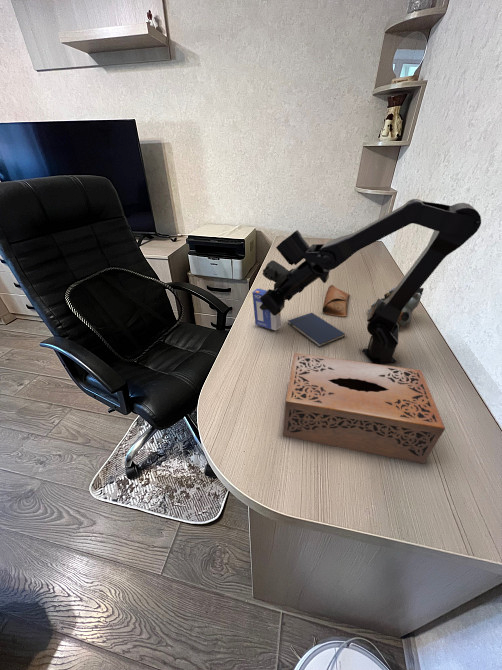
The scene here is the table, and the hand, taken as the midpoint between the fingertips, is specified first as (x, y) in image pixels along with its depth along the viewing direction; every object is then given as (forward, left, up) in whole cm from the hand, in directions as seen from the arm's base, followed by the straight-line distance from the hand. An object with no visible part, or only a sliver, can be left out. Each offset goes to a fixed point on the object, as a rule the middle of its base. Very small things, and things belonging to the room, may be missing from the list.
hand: (262, 306), depth 84 cm
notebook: (-4, -16, -8) cm, 18 cm away
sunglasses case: (+11, -30, -8) cm, 33 cm away
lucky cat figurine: (-2, -43, -8) cm, 44 cm away
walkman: (0, -2, -7) cm, 7 cm away
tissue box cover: (-38, -10, -8) cm, 40 cm away
